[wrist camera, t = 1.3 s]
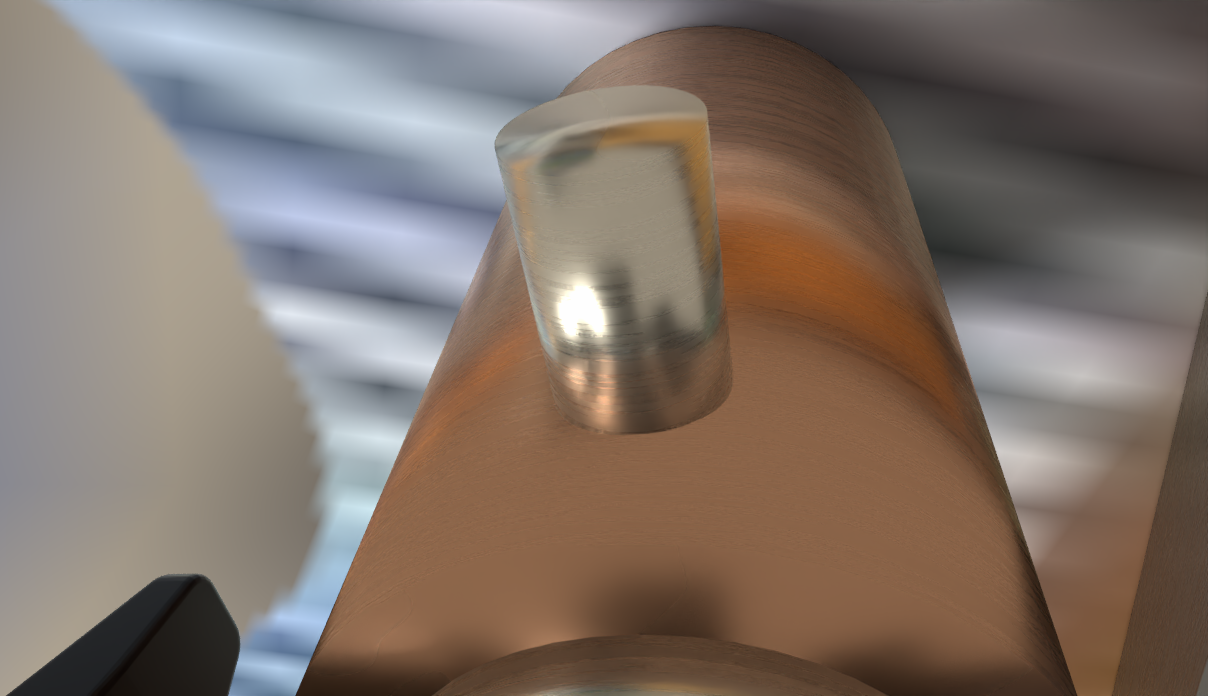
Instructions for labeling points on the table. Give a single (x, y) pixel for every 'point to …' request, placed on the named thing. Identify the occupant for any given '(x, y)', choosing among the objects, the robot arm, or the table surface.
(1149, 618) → the gearbox housing
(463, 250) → the table surface
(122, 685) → the robot arm
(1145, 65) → the table surface
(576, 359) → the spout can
